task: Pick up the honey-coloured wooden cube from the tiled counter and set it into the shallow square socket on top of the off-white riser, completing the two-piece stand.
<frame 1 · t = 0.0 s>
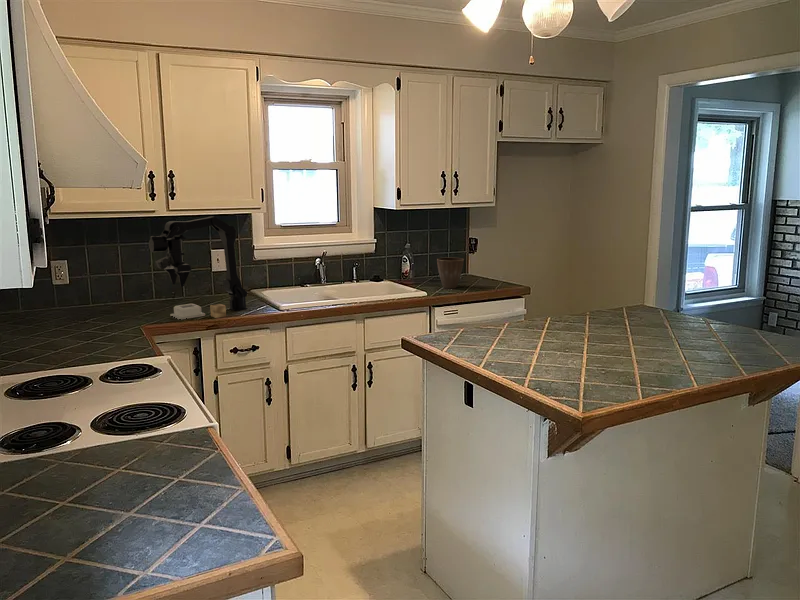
hand: (177, 285, 282), 15 cm above the counter, tool pointing down, fingers open, 9 cm apart
plant pot: (450, 287, 356), on the counter
block: (218, 316, 288), on the counter
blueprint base: (187, 315, 289), on the counter
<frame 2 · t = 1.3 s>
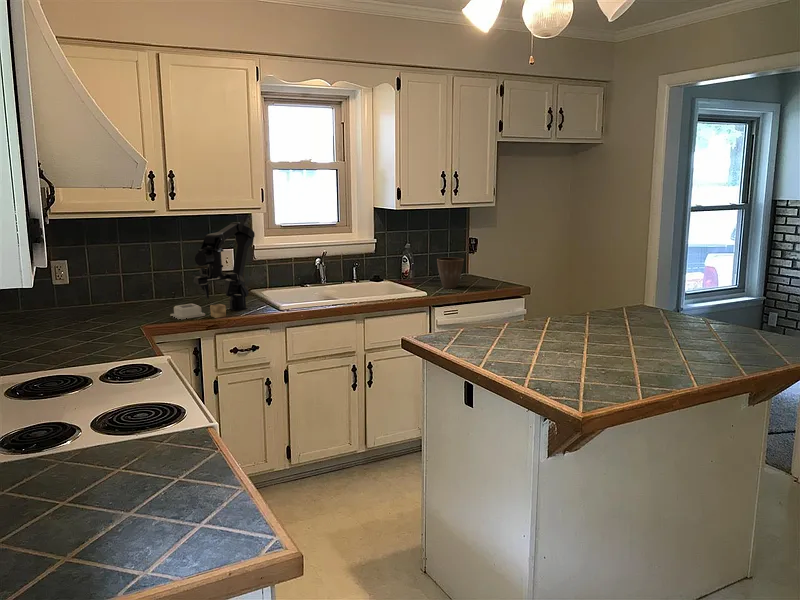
hand: (217, 297, 287), 9 cm above the counter, tool pointing down, fingers open, 9 cm apart
nothing on the counter moved.
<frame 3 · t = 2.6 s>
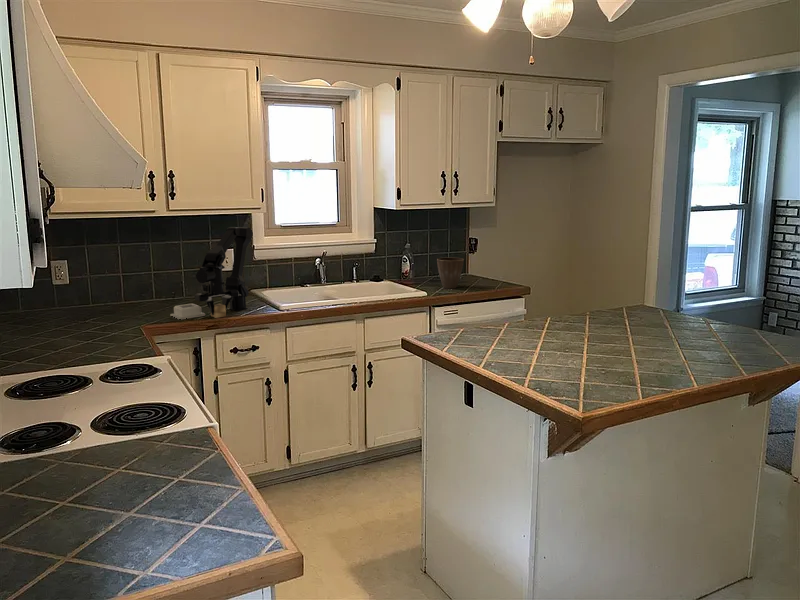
hand: (218, 313, 288), 1 cm above the counter, tool pointing down, fingers closed on block, 5 cm apart
block: (218, 316, 288), on the counter, touching gripper
everything else where it was.
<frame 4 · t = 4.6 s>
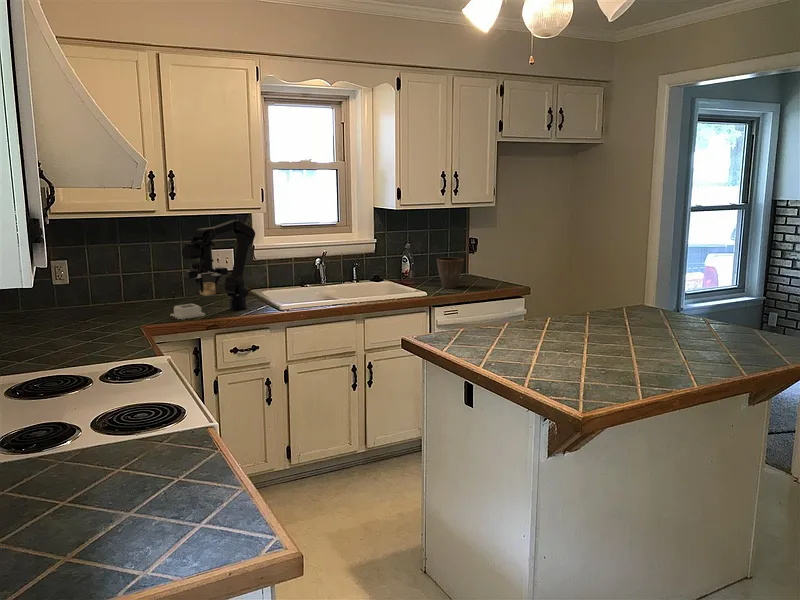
hand: (207, 291, 286), 11 cm above the counter, tool pointing down, fingers closed on block, 5 cm apart
block: (207, 294, 287), point 10 cm above the counter, touching gripper
everything else where it was.
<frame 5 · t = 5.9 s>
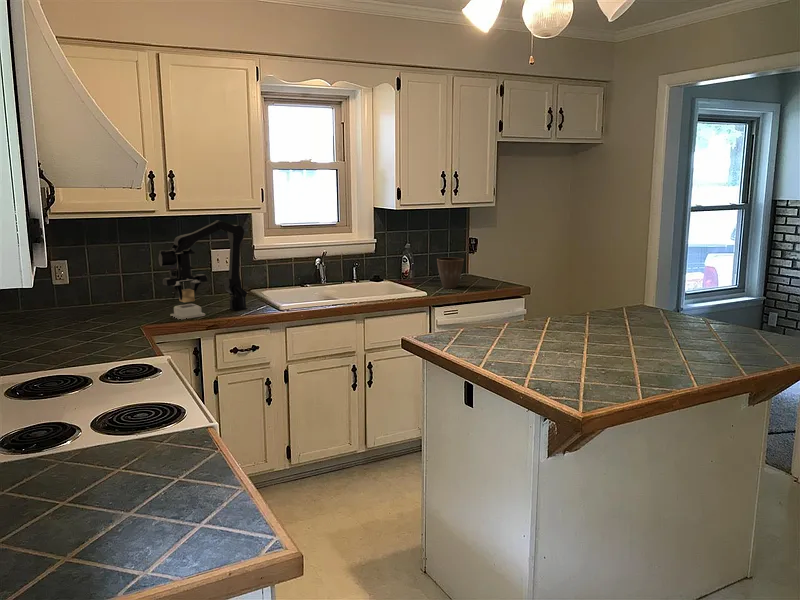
hand: (186, 298, 288), 8 cm above the counter, tool pointing down, fingers closed on block, 5 cm apart
block: (187, 301, 288), point 7 cm above the counter, touching gripper
everything else where it was.
when the fingers open (6 cm above the counter, at t = 6.7 s): block stays where it is, resting on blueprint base.
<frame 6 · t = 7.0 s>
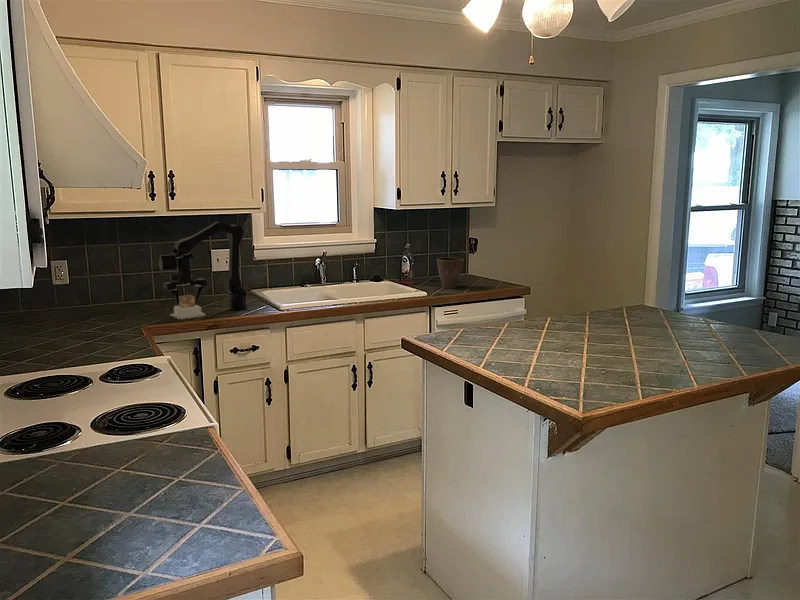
hand: (187, 302, 288), 6 cm above the counter, tool pointing down, fingers open, 8 cm apart
block: (187, 307, 289), point 4 cm above the counter, touching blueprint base
everything else where it was.
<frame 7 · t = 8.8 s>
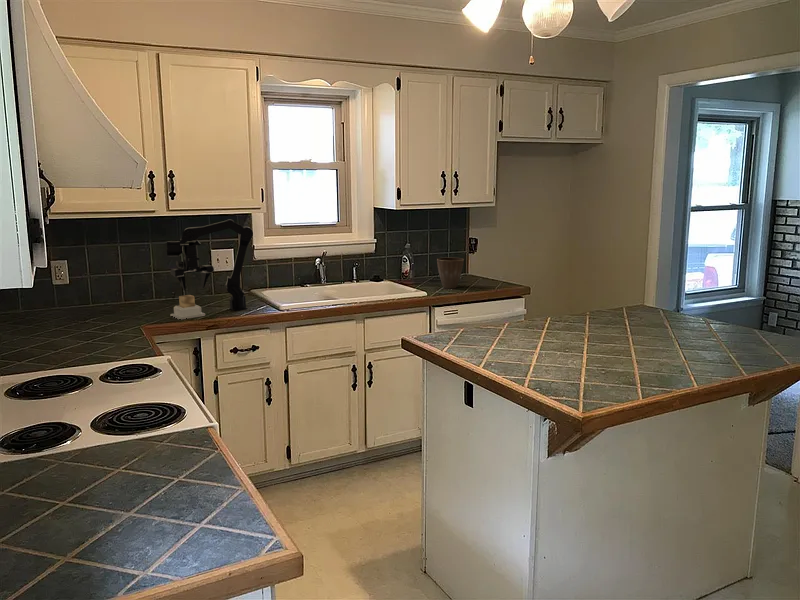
hand: (193, 288, 296), 11 cm above the counter, tool pointing down, fingers open, 9 cm apart
nothing on the counter moved.
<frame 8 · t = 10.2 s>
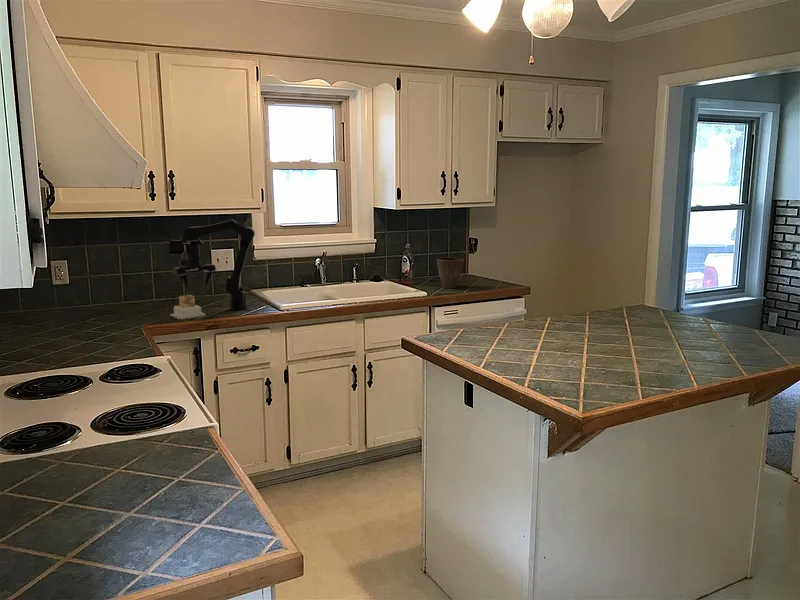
hand: (195, 287, 298), 11 cm above the counter, tool pointing down, fingers open, 9 cm apart
nothing on the counter moved.
at the end: block 0.1 cm off-centre on the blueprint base, point 4.1 cm above the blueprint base's base; block tilted 0°; the gripper is holding nothing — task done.
